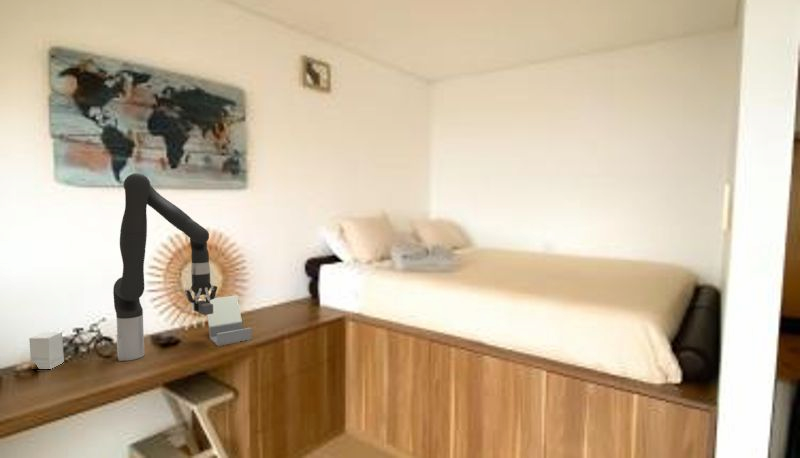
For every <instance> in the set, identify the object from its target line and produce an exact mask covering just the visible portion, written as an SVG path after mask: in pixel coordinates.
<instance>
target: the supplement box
mask: <svg viewBox="0 0 800 458" xmlns="http://www.w3.org/2000/svg"><path fill="white" fill-rule="evenodd" d="M28 339H29V352H30V353H29V354H30V364H31V363H35V364H36V365H37V367H38V368H39V369H51V370H53V369H55V368H54V367H56V366H58V365H60V364H62V363H63V362H64V363H65V358H64V356H65V355H64V341H63V332H59V331H58V332H53V331H51V332H49V331H47V332H45V331H43V332H42V333H39V334H37V335H34V336H31V337H29V338H28ZM64 363H63V364H64ZM63 364H62V365H63ZM60 366H61V365H60ZM58 367H59V366H58ZM52 368H53V369H52ZM56 368H57V367H56Z"/></svg>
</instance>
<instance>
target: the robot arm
mask: <svg viewBox="0 0 800 458" xmlns="http://www.w3.org/2000/svg"><path fill="white" fill-rule="evenodd" d="M123 189H124V195H125V196H124V197H125V198H124V199H125V204H124V205H125V207H124V211H123V215H122V219H121V224H120V233H119V235H120V236H119V249H120V255H121V260H122V276H121V277H119V278H118V279H117V280H116V281H115V282H114V285H113V291H112V294H113V303H114V304H113V306H114V310H115V311H114V312H115V317H116V349H117V351H116V353H117V358H118V361H119V362H123V361H126V362H127V361H134V360H137V359H141V358H143V357H144V356H145V335H144V332H145V331H144V311H143V309H144V308H143V307H142V303H141V300H140V299H141V297H142V296H143V295H144V293H145V273H144V271H145V267H144V266H145V256H146V248H147V247H146V245H147V236H148V218H147V206H149V207H151V208H152V209H153V210H154V211H156V212H157V213H158V214H159V215H160V216H161V217H162V218H164V220H166V221H167V222H168V223H169V224H171V225H172V226H173V227H175V228H176V229H177V230H179V231H181V232H182V233H183V234H185V235H186V236H187V237H188V238H189V243H190V248H191V255H190V256H191V268H190V269H191V271H190V273H191V287H190V288H189V289H185V290H184V293H185V296H186V297H187V300H188V302H189V303H190V304H191V303H193V304H194V310H195V311H194V312H196V313H198V300H199V299H201V298H200V297H201V296H202V295H203V297H204V300H205V299H206V302H208V303H210V300H212V299H214V298H216V294H217V291H218V286H216V285H212V284H211V266H210V265H211V264H210V255H209V254H210V253H209V249H208V240H209V239H210V234H209V231H208V230H207V229H206V228H204V226H202V225H200V224H199V223H198V222H196V221H195V220H194V219H193V218H192V217H190V216H189V215H188V214H187V213H185V211H183V210H182V209H181V208H179V207H178V206H177V205H175V204H174V203H173V202H171V201H170V200H168V199H166V197H164V196H162V195H161V194H160V193H159V192H158V191H157V190H156V189H155V188H154V187H153V186H152V185H151V181H150V179H149V178H148V177H147V176H146V175H144V174H143V173H132V174H129V175H127V176H126V178H125V179H124V180H123ZM209 291H210V293H209ZM192 293H193V296H192Z"/></svg>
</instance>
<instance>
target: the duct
mask: <svg viewBox="0 0 800 458" xmlns="http://www.w3.org/2000/svg"><path fill="white" fill-rule="evenodd" d="M243 324H244V323H243V321H242V322H236V323H230V324H224V325H218V326H212V327H209V326H208V327H209V339H210V340H211V342H213V343H214V344H215V345H216V346H217V347H220V346H225V345H229V344H236V343H240V341H242V342H246V341H245V340H247V341H252V340H251V339H252V338H253V337H252V327H245V328H244V325H243Z"/></svg>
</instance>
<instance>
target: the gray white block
mask: <svg viewBox="0 0 800 458" xmlns="http://www.w3.org/2000/svg"><path fill="white" fill-rule="evenodd" d="M190 310H192V311H194V312H196V311H195V310H194V304H193V303H191V302H190ZM197 313H199V314H201V315H203V316H207V315H208V314H213V304H211V303H208V302H206V301H205V300H203V299H201V298H199V300H198V312H197Z"/></svg>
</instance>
